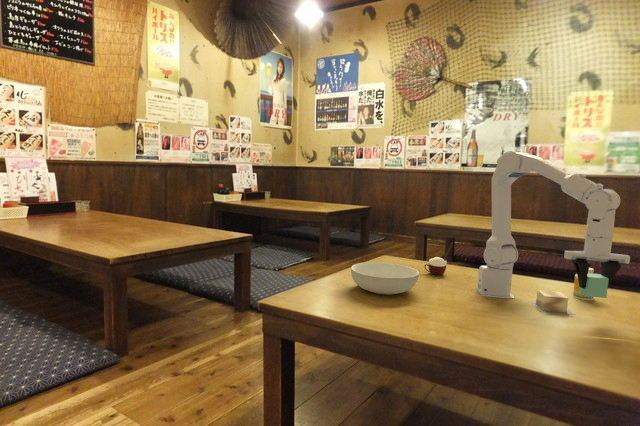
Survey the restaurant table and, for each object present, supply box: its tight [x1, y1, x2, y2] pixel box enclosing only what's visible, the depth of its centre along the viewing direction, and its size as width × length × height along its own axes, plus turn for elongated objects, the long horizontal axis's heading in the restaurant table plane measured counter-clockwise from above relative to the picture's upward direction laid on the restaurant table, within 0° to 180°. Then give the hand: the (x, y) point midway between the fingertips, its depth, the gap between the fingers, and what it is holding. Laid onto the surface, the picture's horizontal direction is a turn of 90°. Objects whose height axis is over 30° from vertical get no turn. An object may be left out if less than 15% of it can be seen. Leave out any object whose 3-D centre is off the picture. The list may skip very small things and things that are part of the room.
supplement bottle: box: [572, 267, 594, 301], centre depth 129 cm, size 5×5×10 cm
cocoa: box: [423, 242, 454, 276], centre depth 152 cm, size 10×6×12 cm, turn 58°
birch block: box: [535, 289, 569, 312], centre depth 118 cm, size 6×6×4 cm
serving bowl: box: [350, 261, 420, 296], centre depth 130 cm, size 21×21×7 cm
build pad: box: [528, 300, 576, 316], centre depth 118 cm, size 9×9×1 cm
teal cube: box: [579, 273, 609, 299], centre depth 108 cm, size 4×4×5 cm
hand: (592, 288), depth 108 cm, fingers closed on teal cube, 4 cm apart
